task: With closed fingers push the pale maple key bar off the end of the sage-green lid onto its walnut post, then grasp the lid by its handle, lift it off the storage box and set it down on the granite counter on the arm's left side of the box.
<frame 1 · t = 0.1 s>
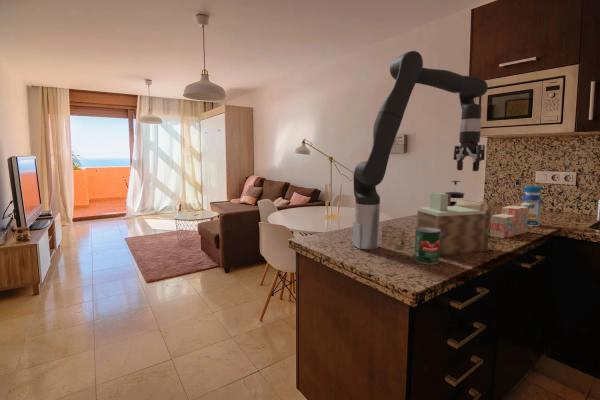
hand: (467, 170, 135), 29 cm above the worktop, tool pointing down, fingers open, 8 cm apart
canned tomato: (426, 261, 110), on the worktop
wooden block: (449, 233, 151), on the worktop
stack of blocks: (508, 234, 148), on the worktop
storage box: (448, 249, 123), on the worktop
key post: (475, 247, 126), on the worktop
key bar: (471, 204, 123), point 17 cm above the worktop, slide at 0.0 cm
french press: (453, 226, 165), on the worktop
lid: (450, 212, 121), point 14 cm above the worktop, touching storage box
beverage bottle: (529, 225, 167), on the worktop
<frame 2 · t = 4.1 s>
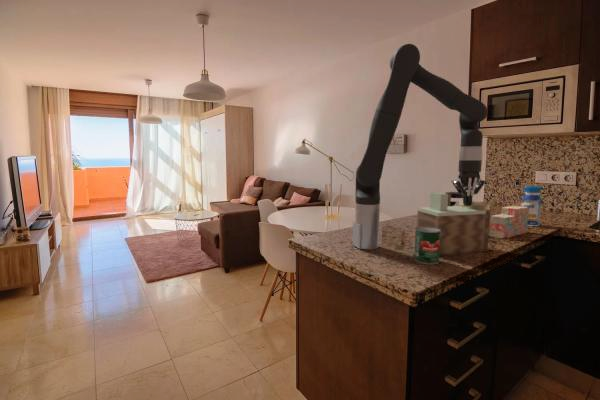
hand: (467, 205, 122), 17 cm above the worktop, tool pointing down, fingers closed
key bar: (473, 204, 123), point 17 cm above the worktop, slide at 1.1 cm, touching gripper
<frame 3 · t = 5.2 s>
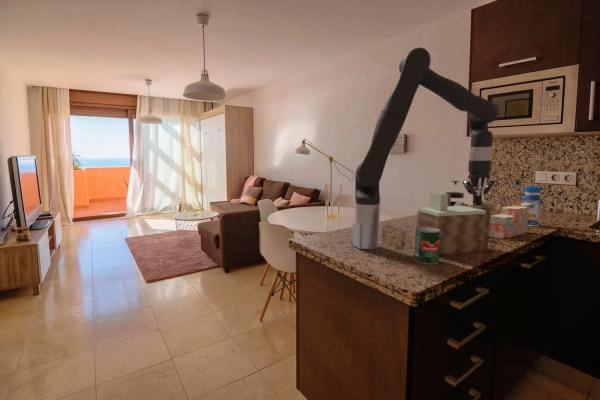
hand: (477, 205, 124), 17 cm above the worktop, tool pointing down, fingers closed
key bar: (483, 204, 124), point 17 cm above the worktop, slide at 5.6 cm, touching gripper
everything else where it was.
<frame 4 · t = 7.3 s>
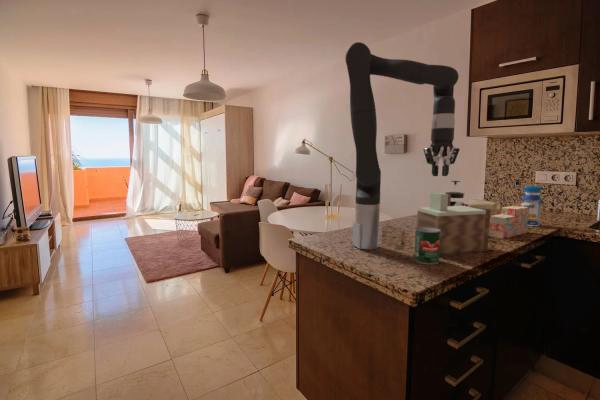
hand: (440, 175, 118), 28 cm above the worktop, tool pointing down, fingers open, 3 cm apart
key bar: (483, 204, 124), point 17 cm above the worktop, slide at 5.6 cm
everything else where it was.
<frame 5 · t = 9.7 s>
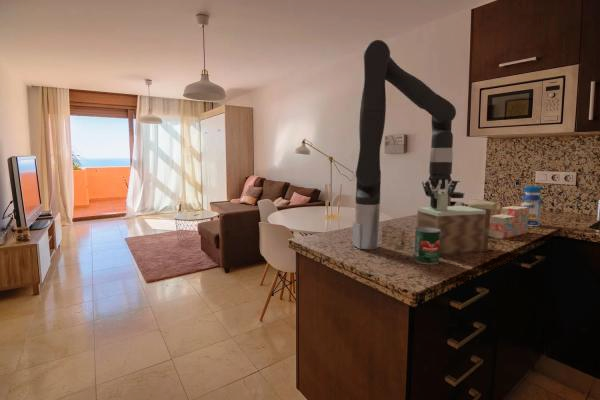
hand: (438, 207, 120), 16 cm above the worktop, tool pointing down, fingers closed on lid, 3 cm apart
lid: (450, 212, 121), point 14 cm above the worktop, touching gripper, storage box
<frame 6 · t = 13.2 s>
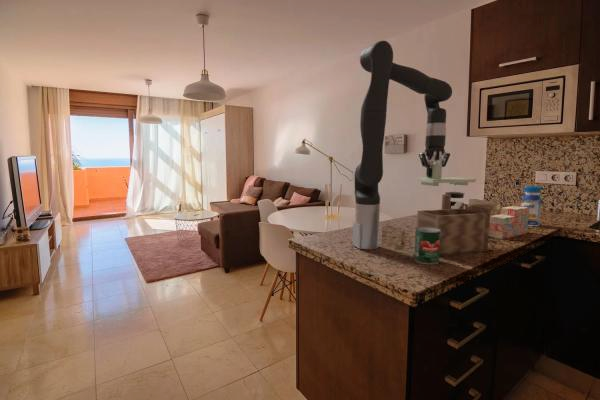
hand: (433, 177, 135), 27 cm above the worktop, tool pointing down, fingers closed on lid, 3 cm apart
lid: (444, 181, 136), point 25 cm above the worktop, touching gripper
when the fingers open (5 cm above the worktop, at t = 16.6 s): lid drops 1 cm, point 1 cm above the worktop.
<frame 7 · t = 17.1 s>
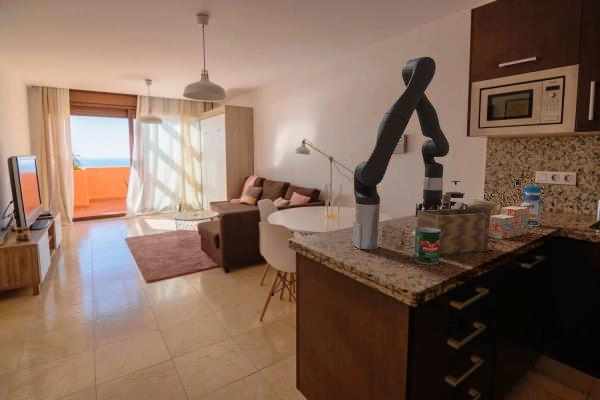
hand: (430, 226, 137), 6 cm above the worktop, tool pointing down, fingers open, 7 cm apart
lid: (440, 236, 139), point 1 cm above the worktop
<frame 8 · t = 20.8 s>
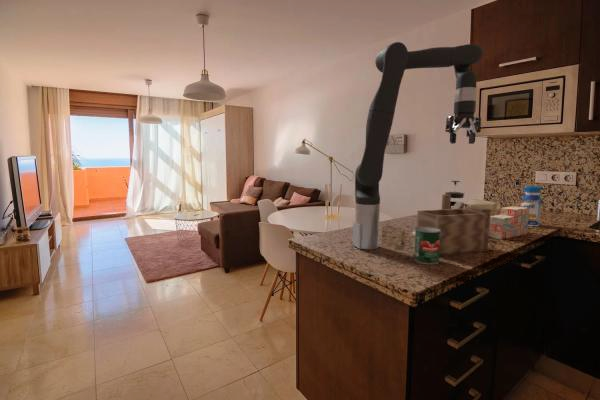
hand: (462, 143, 128), 40 cm above the worktop, tool pointing down, fingers open, 8 cm apart
at the end: key bar slide at 5.6 cm; lid inside the target area (5.1 cm from its centre), point 1.3 cm above the worktop; lid tilted 0° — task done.
